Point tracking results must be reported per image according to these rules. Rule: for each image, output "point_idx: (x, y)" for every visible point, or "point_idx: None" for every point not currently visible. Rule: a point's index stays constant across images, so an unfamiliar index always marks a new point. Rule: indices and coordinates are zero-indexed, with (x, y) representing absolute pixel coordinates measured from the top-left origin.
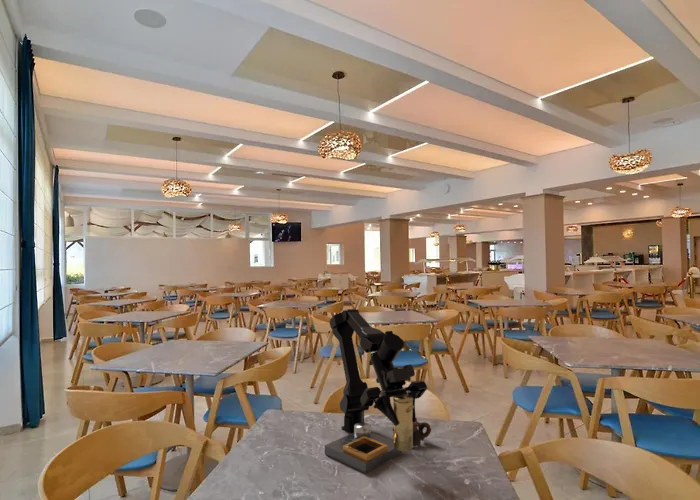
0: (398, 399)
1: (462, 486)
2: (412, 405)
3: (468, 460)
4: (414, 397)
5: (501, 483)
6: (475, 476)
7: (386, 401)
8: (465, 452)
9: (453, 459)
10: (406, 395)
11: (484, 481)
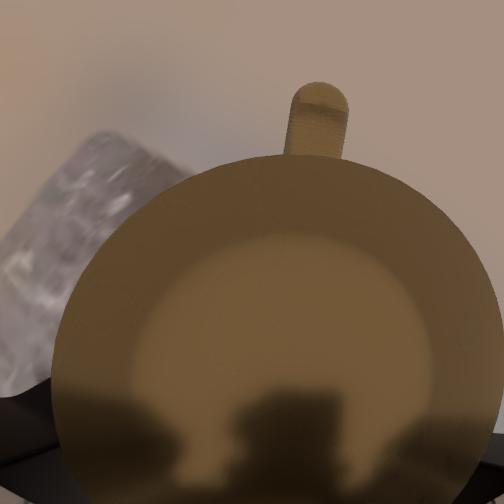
0: (486, 318)
1: (149, 191)
2: (329, 84)
3: (34, 278)
4: (3, 403)
5: (75, 160)
6: (85, 208)
7: (498, 440)
8: (12, 315)
9: (55, 309)
10: (145, 476)
11: (91, 181)
